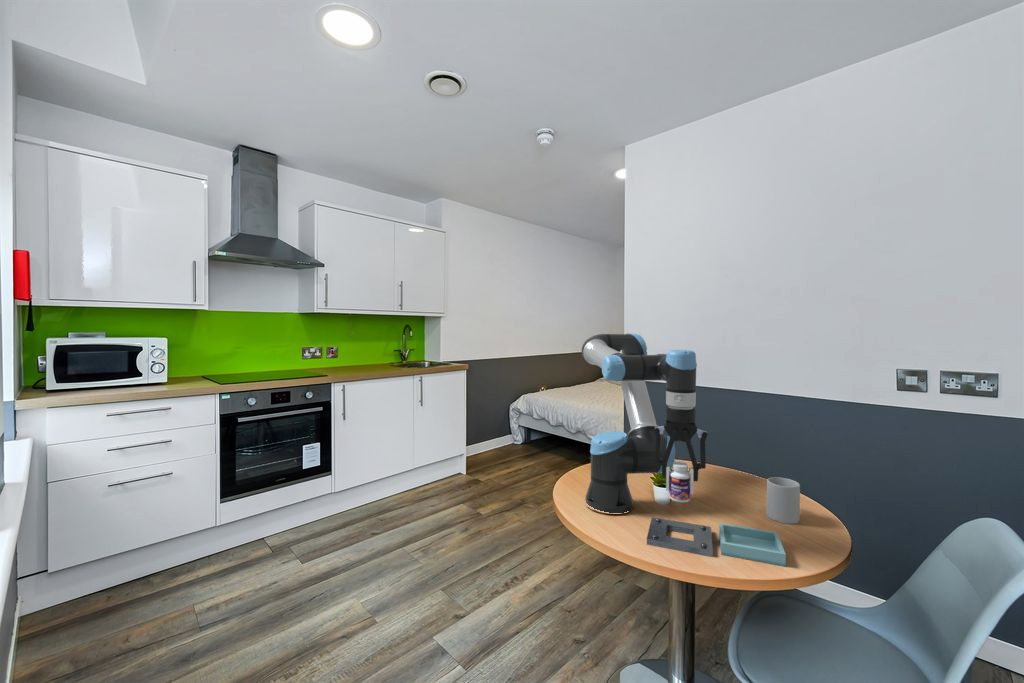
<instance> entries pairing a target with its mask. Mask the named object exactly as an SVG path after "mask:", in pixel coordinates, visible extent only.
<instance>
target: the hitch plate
mask: <svg viewBox="0 0 1024 683" xmlns="http://www.w3.org/2000/svg"><path fill="white" fill-rule="evenodd" d="M668 531H670V532H677V533H681V534H682V533H683V534H687V535H692V536H693V540H690V539H684V538H679V537H674V536H667V534H668V533H667V532H668ZM712 537H713V534H712V526H709V525H702V524H696V523H691V522H683V521H677V520H671V519H666V518H665V519H664V518H659V517H653V516H652V517H651V519H650V524H649V527H648V531H647V536H646V545H650V546H654V547H658V548H659V547H660V548H666V549H670V550H675V551H680V552H686V553H691V554H696V555H702V556H707V557H710V558H711V557H712V558H713V557H714V550H713V546H714V545H713V538H712Z"/></svg>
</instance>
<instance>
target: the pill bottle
mask: <svg viewBox="0 0 1024 683" xmlns="http://www.w3.org/2000/svg"><path fill="white" fill-rule="evenodd" d="M688 468H689V465H688V463H686V462H682V461H674V462H673V463H672V468H671V470H670V474H669V491H668V498H669V499H670V500H672V501H673V502H677V503H688V502H690V500H691V494H690V472H689V471H688Z"/></svg>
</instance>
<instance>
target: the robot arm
mask: <svg viewBox="0 0 1024 683" xmlns="http://www.w3.org/2000/svg"><path fill="white" fill-rule="evenodd" d="M584 341H585V342H584V343H583V344H582V347H581V356H582V358H583V359H584V361H585V362H587V363H588V364H590V365H594V366H597V367H599V368H600V369H601V373H602V376H603V379H604V380H606V381H608V382H616V383H617V382H620V387H621V391H622V396H623V398H624V404H625V409H626V412H627V417H628V422H629V425H630V426H629V427H630V430H629V432H627V433H626V432H624V431H620V430H619V431H616V430H614V431H612V430H611V431H604V432H600V433H597V434H595V435H594V436H593V437H592V438H591V440H590V450H589V452H590V482H589V485H588V488H587V491H586V494H585V497H584V498H585V501H586V503H587V504H588V505H589V506H591V507H593V508H594V509H597V510H600V511H604V512H609V513H624V512H627V511H630V510H631V509H632V508H633V509H634V500H633V497H632V494H631V491H630V488H629V485H628V475H630V474H634V475H635V474H659V473H661V476H662V478H664V479H665V480H666V481H665V484H666V485H665V491H667V492H669V474H670V471H671V470H672V463H673V462H675V459H676V447H675V446H676V445H675V442H680V441H681V442H683V443H685V444H686V448H687V451H688V455H689V457H690V461H691V467H690V472H689V473H690V495H694V482H698V481H699V470H702V469H705V468H706V467H707V465H706V463H707V462H706V440H707V437H708V431H707V430H706V429H704V430H703V429H700V428H698V426H697V425H696V413H697V412H696V408H695V407H696V404H697V403H696V402H697V401H696V400H697V398H696V397H697V396H696V395H697V391H696V388H697V367H698V366H697V354H696V352H695V351H694V350H690V349H689V350H688V349H670V350H668V351H667V352H666V353H657V354H648V352H647V350H648V347H647V343H646V341H645V340H644V337H642V335H639V334H637V333H599V334H595V335H592V336H591V337H589V338H587V339H586V340H584ZM646 381H647V382H648V381H651V382H652V381H664V382H665V386H666V387H665V404H666V405H667V406H666V407H665V423H664V425H661V426H659V425H658V424H657V421H656V417H655V414H654V410H653V407H652V406H653V405H652V403H651V397H650V396H649V391H648V388H647V383H646ZM664 432H666V433H667V435H665V433H664ZM696 434H697V436H698V439H699V447H700V449H699V450H700V452H699V453H700V455H699V456H700V462H698V460H697V456H696V453H695V450H694V446H693V441H692V438H693V436H695V435H696ZM585 501H584V502H585ZM633 509H632V510H633ZM632 510H631V511H632ZM631 511H630V512H631Z"/></svg>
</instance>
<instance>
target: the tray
mask: <svg viewBox="0 0 1024 683" xmlns="http://www.w3.org/2000/svg"><path fill="white" fill-rule="evenodd" d="M718 538H719V548H720V555H722V556H726V557H732V558H738V559H744V560H749V561H753V562H760V563H764V564H770V565H775V566H781V567H786V566H787V565H786V562H787V554H786V552H785V549H784V546H783V543H782V542H781V538H780V536H779V534H778V532H777V531H770V530H766V529H760V528H759V529H758V528H754V527H748V526H747V527H746V526H741V525H740V526H739V525H736V524H735V525H734V524H728V523H722V522H719V523H718Z"/></svg>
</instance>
